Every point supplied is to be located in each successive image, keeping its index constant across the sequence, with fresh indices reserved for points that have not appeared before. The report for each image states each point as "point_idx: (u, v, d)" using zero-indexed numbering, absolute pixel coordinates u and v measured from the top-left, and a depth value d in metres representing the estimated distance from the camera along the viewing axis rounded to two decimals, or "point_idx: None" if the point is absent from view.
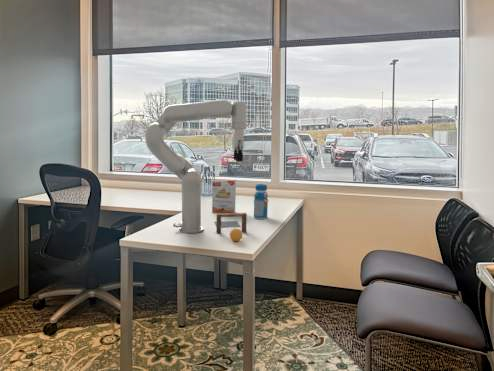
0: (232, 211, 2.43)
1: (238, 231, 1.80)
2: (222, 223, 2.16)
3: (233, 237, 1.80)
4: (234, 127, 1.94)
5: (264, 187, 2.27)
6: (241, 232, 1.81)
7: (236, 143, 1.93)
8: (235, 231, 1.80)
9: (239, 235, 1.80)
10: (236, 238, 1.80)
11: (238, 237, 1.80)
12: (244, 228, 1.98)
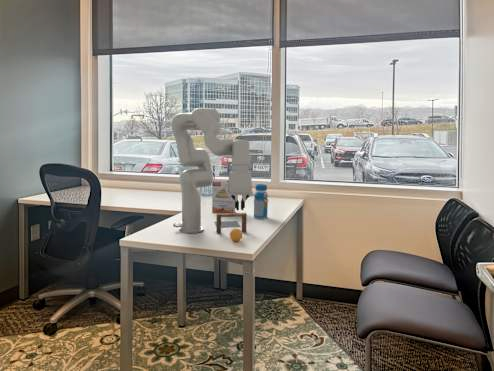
0: (232, 211, 2.43)
1: (238, 231, 1.80)
2: (222, 223, 2.16)
3: (233, 237, 1.80)
4: None
5: (264, 187, 2.27)
6: (241, 232, 1.81)
7: (228, 186, 1.70)
8: (235, 231, 1.80)
9: (239, 235, 1.80)
10: (236, 238, 1.80)
11: (238, 237, 1.80)
12: (244, 228, 1.98)
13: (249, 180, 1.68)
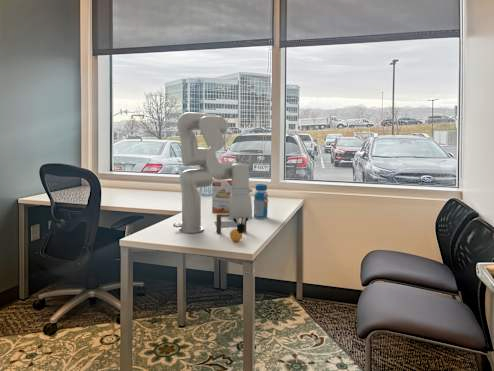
0: None
1: None
2: (222, 223, 2.16)
3: (233, 237, 1.80)
4: None
5: (264, 187, 2.27)
6: None
7: None
8: (235, 231, 1.80)
9: (239, 235, 1.80)
10: (236, 238, 1.80)
11: (238, 237, 1.80)
12: (244, 228, 1.98)
13: (249, 203, 1.69)
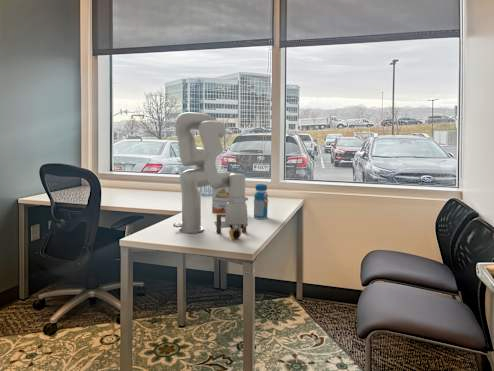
0: None
1: None
2: (222, 223, 2.16)
3: None
4: None
5: (264, 187, 2.27)
6: None
7: (225, 217, 1.81)
8: None
9: None
10: None
11: None
12: (244, 228, 1.98)
13: (245, 211, 1.78)
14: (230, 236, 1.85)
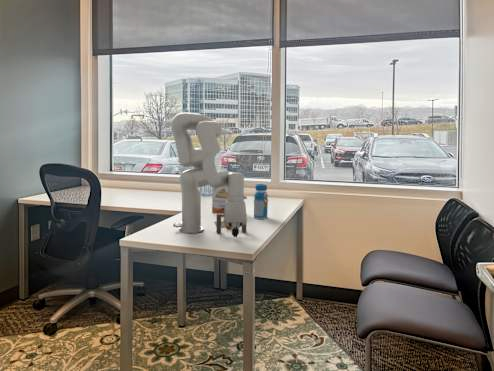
0: None
1: None
2: (222, 223, 2.16)
3: None
4: None
5: (264, 187, 2.27)
6: None
7: (224, 215, 1.85)
8: None
9: None
10: None
11: None
12: (244, 228, 1.98)
13: (244, 210, 1.82)
14: None
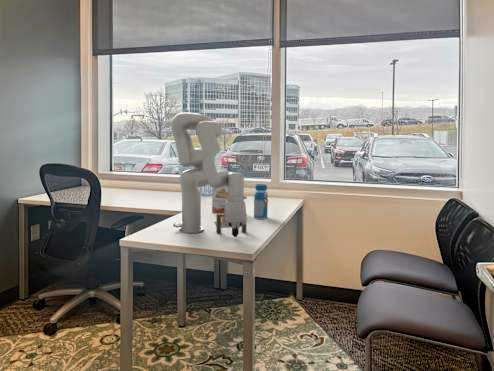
0: None
1: None
2: (222, 223, 2.16)
3: None
4: None
5: (264, 187, 2.27)
6: None
7: (224, 215, 1.85)
8: None
9: None
10: None
11: None
12: (244, 228, 1.98)
13: (244, 210, 1.82)
14: None
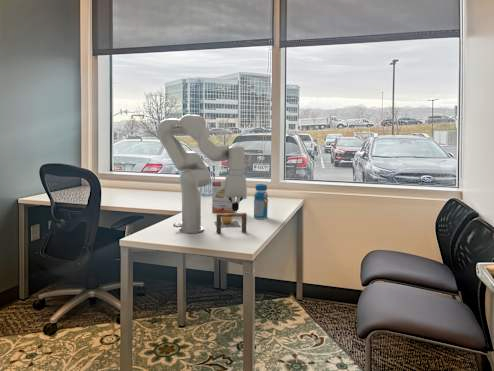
0: (232, 211, 2.43)
1: (229, 221, 2.14)
2: (222, 223, 2.16)
3: (224, 222, 2.16)
4: None
5: (264, 187, 2.27)
6: (231, 219, 2.15)
7: None
8: (226, 221, 2.14)
9: None
10: None
11: None
12: (244, 228, 1.98)
13: (244, 184, 1.80)
14: None
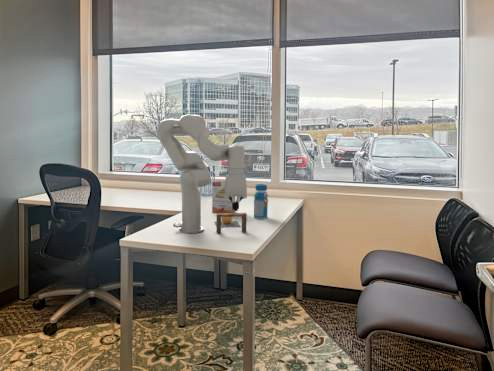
0: (232, 211, 2.43)
1: (229, 221, 2.14)
2: (222, 223, 2.16)
3: (224, 222, 2.16)
4: None
5: (264, 187, 2.27)
6: (231, 219, 2.15)
7: None
8: (226, 221, 2.14)
9: None
10: None
11: None
12: (244, 228, 1.98)
13: (244, 183, 1.80)
14: None
